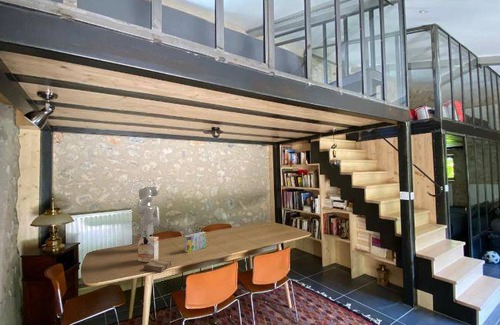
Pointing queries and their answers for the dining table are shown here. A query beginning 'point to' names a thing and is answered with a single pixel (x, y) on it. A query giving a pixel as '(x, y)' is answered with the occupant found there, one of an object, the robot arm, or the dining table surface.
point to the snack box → (194, 241)
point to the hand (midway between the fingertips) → (148, 242)
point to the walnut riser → (157, 265)
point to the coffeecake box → (148, 249)
